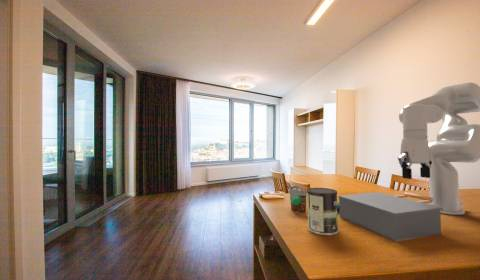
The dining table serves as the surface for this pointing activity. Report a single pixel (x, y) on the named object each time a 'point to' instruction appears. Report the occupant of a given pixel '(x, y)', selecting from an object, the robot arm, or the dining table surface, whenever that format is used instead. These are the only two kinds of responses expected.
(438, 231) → the box
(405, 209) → the lid
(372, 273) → the dining table surface
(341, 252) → the dining table surface
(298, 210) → the food container
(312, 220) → the coffee can
